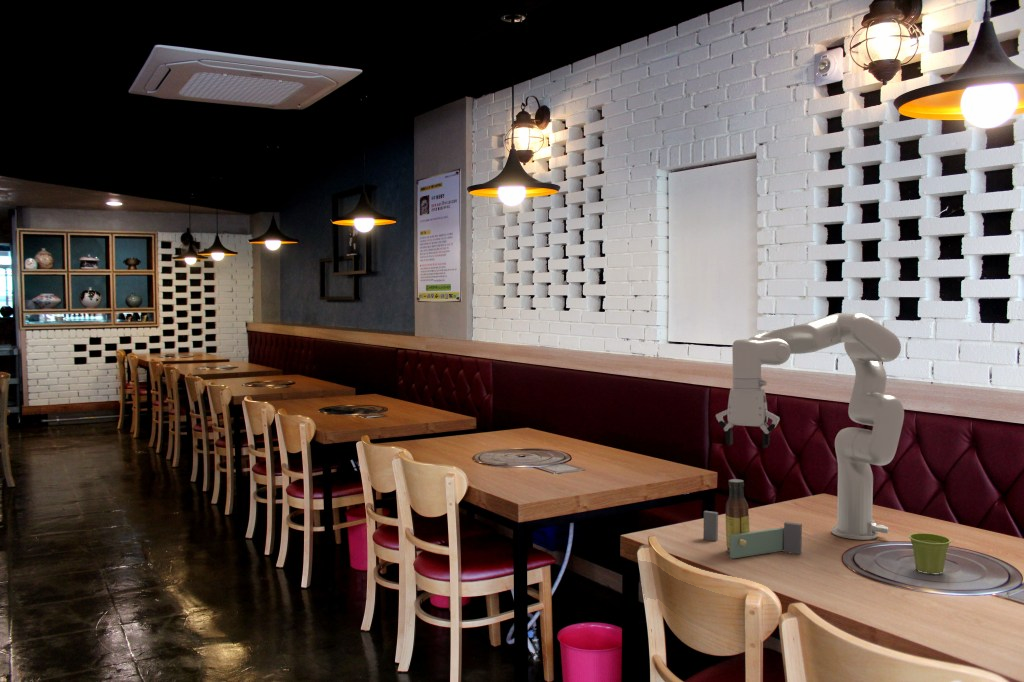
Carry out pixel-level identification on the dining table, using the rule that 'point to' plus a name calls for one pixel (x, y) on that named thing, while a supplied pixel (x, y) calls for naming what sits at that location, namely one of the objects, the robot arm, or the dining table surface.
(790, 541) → the partition wall
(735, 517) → the sauce bottle
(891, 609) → the dining table surface
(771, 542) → the door
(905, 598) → the dining table surface
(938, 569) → the plant pot
